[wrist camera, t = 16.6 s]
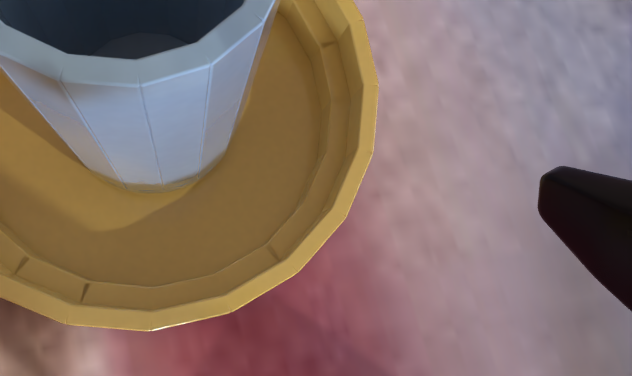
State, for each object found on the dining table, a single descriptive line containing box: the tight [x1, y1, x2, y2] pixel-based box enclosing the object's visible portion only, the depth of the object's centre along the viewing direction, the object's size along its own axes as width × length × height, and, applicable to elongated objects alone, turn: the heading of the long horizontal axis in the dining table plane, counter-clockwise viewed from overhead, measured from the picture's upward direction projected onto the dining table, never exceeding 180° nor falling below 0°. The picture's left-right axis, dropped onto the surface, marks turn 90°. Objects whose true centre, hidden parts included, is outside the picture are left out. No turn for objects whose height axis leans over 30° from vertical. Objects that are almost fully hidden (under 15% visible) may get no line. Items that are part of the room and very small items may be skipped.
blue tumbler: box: [0, 0, 280, 194], centre depth 16 cm, size 6×6×12 cm
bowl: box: [0, 0, 379, 332], centre depth 21 cm, size 16×16×4 cm
